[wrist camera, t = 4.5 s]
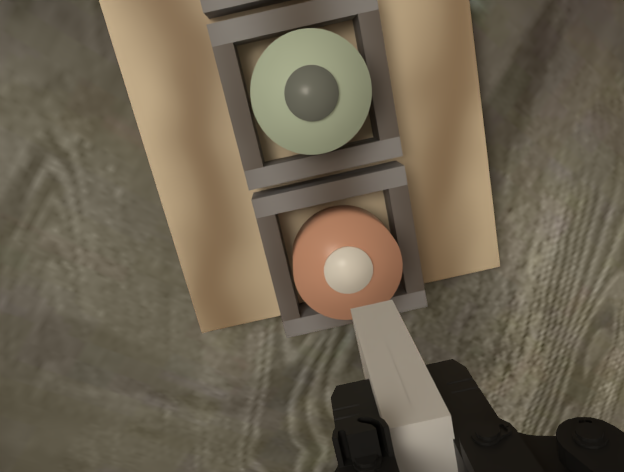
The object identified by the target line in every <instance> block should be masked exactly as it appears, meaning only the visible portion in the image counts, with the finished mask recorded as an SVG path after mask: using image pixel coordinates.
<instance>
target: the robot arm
mask: <svg viewBox="0 0 624 472" xmlns="http://www.w3.org/2000/svg"><path fill="white" fill-rule="evenodd" d="M350 310H351V315H352V319H353V324H354V329H355V333H356V338H357V343H358V347H359V352H360V357H361V361H362V366H363V371H364V375H365V379H366V380H361V381H357V382H352V383H348V384H343V385H338V386H336V388H335V390H334V392H333V394H332V396H331V402H332V408H333V415H334V422H335V429H334V431H333V435H332V441H333V445H334V449H335V453H336V457H337V461H338V467H337V469H336V470H335V472H624V432H622V431H621V430H619V429H618V428H616V427H615V426H613V425H611V424H609V423H607V422H605V421H603V420H599V419H595V418H591V417H577V418H573V419H568V420H566V421H564V422H563V423H561V424H560V425H559V426H558V429H557V431H556V436H534V435H526V434H522V433H518V432H517V430H516V429H515V428H514V427H513V426H512V425H511V424H510V423H509V422H506V421H504V420H502V419H500V418H498V416H497V415H496V413H495V412H494V410H493V409H492V407H491V405H490V404H489V402H488V401H487V399H486V398H485V396H484V395H483V393H482V392H481V390H480V388H478V385H477V384H476V382H475V381H474V379H473V378H472V376H471V375H470V373H469V371H468V370H467V368H466V367H465V366H463V365H462V364H460V363H458V362H457V361H455V360H453V359H451V360H447V361H442V362H438V363H433V364H428V365H425V363H424V361H423V359H422V357H421V355H420V353H419V351H418V349H417V347H416V346H415V344H414V342H413V340H412V338H411V336H410V334H409V332H408V330H407V328H406V326H405V324H404V322H403V320H402V318H401V316H400V314H399V312H398V310H397V308H396V306H395V304H394V302H393V300H388V301H383V302H379V303H374V304H370V305H365V306H361V307H356V308H352V309H350Z"/></svg>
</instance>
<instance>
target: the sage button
mask: <svg viewBox="0 0 624 472" xmlns="http://www.w3.org/2000/svg"><path fill="white" fill-rule="evenodd" d="M250 98H251V104H252V109H253V112H254V115H255V117H256V119H257V122H258V123H259V125H260V127H261V128H262V130H263V131H264V132H265V133H266V135H267V136H268V137H269V138H270V139H272V140H273V141H274V142H275V143H277V144H278V145H279V146H281V147H283V148H285V149H287V150H289V151H292V152H295V153H299V154H306V155H317V154H323V153H327V152H330V151H333V150H335V149H337V148H339V147H341V146H343V145H344V144H346V143H347V142H348V141H349V140H351V139H352V138H353V137H354V136H355V135H356V134H357V132H358V131H359V130H360V128H361V127H362V125H363V123H364V122H365V120H366V117H367V115H368V112H369V109H370V105H371V98H372V85H371V78H370V74H369V71H368V68H367V66H366V63H365V61H364V60H363V58H362V56H361V55H360V53H359V52H358V51H357V49H356V48H355V47H354V46H353V45H352V44H351V43H350V42H348V41H347V40H346V39H344V38H343V37H341V36H339V35H338V34H335V33H333V32H331V31H327V30H324V29H317V28H305V29H298V30H295V31H291V32H289V33H287V34H285V35H282V36H281V37H279V38H278V39H276V40H275V41H274V42H273V43H271V44H270V45H269V46H268V47H267V48H266V50H265V51H264V52H263V53H262V55H261V56H260V58H259V59H258V61H257V63H256V65H255V68H254V71H253V74H252V79H251V86H250Z"/></svg>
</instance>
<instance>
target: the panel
mask: <svg viewBox="0 0 624 472" xmlns="http://www.w3.org/2000/svg"><path fill="white" fill-rule="evenodd" d="M99 2H100V5H101V8H102V11H103V15H104V18H105V21H106V24H107V28H108V31H109V34H110V37H111V41H112V44H113V47H114V50H115V53H116V57H117V60H118V63H119V66H120V70H121V73H122V76H123V79H124V83H125V86H126V89H127V92H128V96H129V99H130V102H131V105H132V108H133V112H134V115H135V118H136V121H137V125H138V128H139V131H140V134H141V138H142V141H143V144H144V147H145V151H146V154H147V157H148V160H149V163H150V167H151V170H152V173H153V176H154V180H155V183H156V186H157V189H158V193H159V196H160V199H161V202H162V205H163V209H164V212H165V215H166V218H167V222H168V225H169V228H170V231H171V235H172V238H173V241H174V244H175V248H176V251H177V254H178V257H179V260H180V264H181V267H182V270H183V273H184V277H185V280H186V283H187V286H188V290H189V293H190V296H191V299H192V303H193V306H194V309H195V312H196V315H197V319H198V322H199V325H200V328H201V332H202V333H204V332H208V331H213V330H217V329H222V328H226V327H231V326H235V325H240V324H244V323H249V322H253V321H258V320H262V319H267V318H271V317H276V316H280V315H281V318H282V322H283V326H284V329H285V333H286V337H287V338H288V337H293V336H297V335H302V334H306V333H311V332H315V331H320V330H324V329H329V328H333V327H338V326H342V325H347V324H351V323H353V319H352V320H340V319H334V318H330V317H327V316H324V315H322V314H320V313H318V312H316V311H315V310H313V309H312V308H311V307H310V306H309V305H307V303H306V302H305V301H304V300H303V299H302V297H301V296H300V294H299V292H298V290H297V288H296V285H295V282H294V276H293V261H292V250H293V244H294V240H295V238H296V235H297V233H298V231H299V230H300V228H301V227H302V225H303V224H304V223H305V222H306V221H307V220H308V219H309V218H310V217H311V216H313V215H314V214H315V213H317V212H319V211H321V210H323V209H325V208H328V207H332V206H337V205H351V206H356V207H360V208H363V209H365V210H367V211H369V212H371V213H372V214H374V215H375V216H376V217H377V218H378V219H379V220H380V221H381V222H382V223H383V224H384V226H385V227H386V228H387V230H388V231H389V232H390V234H391V235H392V236H393V238H394V239H395V241H396V242H397V244H398V246H399V249H400V252H401V256H402V263H403V269H402V276H401V280H400V283H399V286H398V288H397V290H396V292H395V293H394V295H393V296H392V298H391V299H390V300H393V302H394V304H395V306H396V308H397V310H398V312H399V313H401V312H405V311H410V310H414V309H419V308H423V307H428V306H427V300H426V294H425V287H424V283H428V282H433V281H437V280H442V279H446V278H451V277H455V276H460V275H464V274H469V273H473V272H478V271H482V270H487V269H491V268H496V267H500V260H499V252H498V243H497V235H496V226H495V217H494V209H493V200H492V192H491V183H490V175H489V166H488V157H487V149H486V140H485V132H484V123H483V114H482V106H481V97H480V89H479V80H478V72H477V63H476V54H475V46H474V37H473V29H472V20H471V11H470V3H469V0H99ZM305 28H317V29H324V30H327V31H331V32H333V33H335V34H338V35H339V36H341V37H343V38H344V39H346V40H347V41H348V42H350V43H351V44H352V45H353V46H354V47H355V48H356V49H357V51H358V52H359V53H360V55H361V56H362V58H363V60H364V61H365V63H366V66H367V68H368V71H369V74H370V78H371V85H372V98H371V105H370V109H369V112H368V115H367V117H366V120H365V122H364V123H363V125H362V127H361V128H360V130H359V131H358V132H357V134H356V135H355V136H354V137H353V138H352V139H351V140H349V141H348V142H347V143H346V144H344V145H343V146H341V147H339V148H337V149H335V150H333V151H330V152H327V153H323V154H317V155H306V154H299V153H295V152H292V151H289V150H287V149H285V148H283V147H281V146H279V145H278V144H277V143H275V142H274V141H273V140H272V139H270V138H269V137H268V136H267V135H266V133H265V132H264V131H263V130H262V128H261V127H260V125H259V123H258V122H257V119H256V117H255V115H254V112H253V109H252V104H251V98H250V86H251V79H252V74H253V71H254V68H255V65H256V63H257V61H258V59H259V58H260V56H261V55H262V53H263V52H264V51H265V50H266V48H267V47H268V46H269V45H270V44H271V43H273V42H274V41H275V40H276V39H278V38H279V37H281V36H282V35H285V34H287V33H289V32H291V31H295V30H298V29H305Z"/></svg>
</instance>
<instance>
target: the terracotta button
mask: <svg viewBox="0 0 624 472" xmlns="http://www.w3.org/2000/svg"><path fill="white" fill-rule="evenodd" d="M292 261H293V276H294V282H295V285H296V288H297V290H298V292H299V294H300V296H301V297H302V299H303V300H304V301H305V302H306V303H307V305H309V306H310V307H311V308H312V309H313V310H315V311H316V312H318V313H320V314H322V315H324V316H327V317H330V318H334V319H340V320H352V315H351V310H350V309H352V308H356V307H361V306H365V305H370V304H374V303H379V302H383V301H388V300H390V299H391V298H392V296H393V295H394V293H395V292H396V290H397V288H398V286H399V283H400V280H401V276H402V269H403V263H402V256H401V252H400V249H399V246H398V244H397V242H396V241H395V239H394V238H393V236H392V235H391V234H390V232H389V231H388V230H387V228H386V227H385V226H384V224H383V223H382V222H381V221H380V220H379V219H378V218H377V217H376V216H375V215H374V214H372V213H371V212H369V211H367V210H365V209H363V208H360V207H356V206H351V205H337V206H332V207H328V208H325V209H323V210H321V211H319V212H317V213H315V214H314V215H313V216H311V217H310V218H309V219H308V220H307V221H306V222H305V223H304V224H303V225H302V227H301V228H300V230H299V231H298V233H297V235H296V238H295V240H294V244H293V250H292Z"/></svg>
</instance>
